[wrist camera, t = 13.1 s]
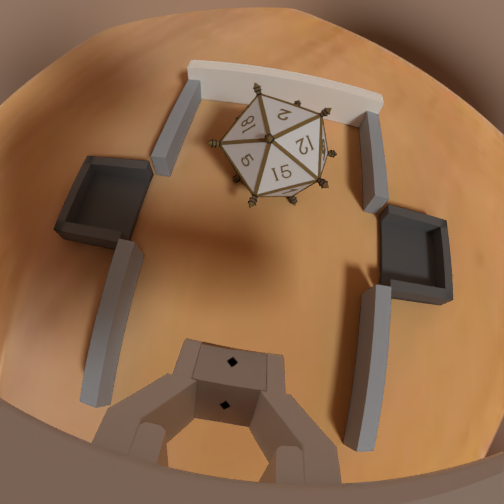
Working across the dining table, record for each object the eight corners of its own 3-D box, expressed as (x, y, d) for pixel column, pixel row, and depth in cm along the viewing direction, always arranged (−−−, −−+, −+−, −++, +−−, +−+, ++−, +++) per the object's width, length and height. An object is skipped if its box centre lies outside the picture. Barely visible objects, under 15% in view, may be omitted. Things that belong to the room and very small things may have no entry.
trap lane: (28, 370, 17) (-3, 366, 14) (139, 87, 28) (133, 59, 25) (428, 438, 17) (459, 445, 14) (419, 138, 28) (435, 114, 25)
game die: (246, 192, 28) (206, 92, 22) (336, 169, 26) (308, 62, 20) (239, 254, 21) (178, 117, 15) (362, 224, 19) (330, 71, 13)
